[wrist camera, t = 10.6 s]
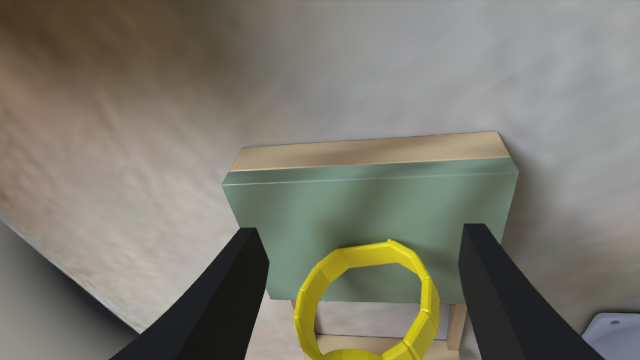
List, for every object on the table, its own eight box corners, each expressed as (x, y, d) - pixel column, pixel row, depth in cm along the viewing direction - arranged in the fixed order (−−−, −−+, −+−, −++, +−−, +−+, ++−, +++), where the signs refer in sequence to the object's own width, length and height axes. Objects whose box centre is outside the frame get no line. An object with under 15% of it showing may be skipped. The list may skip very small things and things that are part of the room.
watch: (418, 218, 15) (439, 362, 10) (435, 257, 16) (459, 398, 12) (298, 245, 17) (269, 374, 12) (322, 278, 18) (304, 403, 14)
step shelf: (497, 130, 15) (520, 172, 13) (455, 346, 27) (463, 388, 25) (241, 146, 17) (220, 185, 15) (309, 339, 29) (303, 376, 27)
